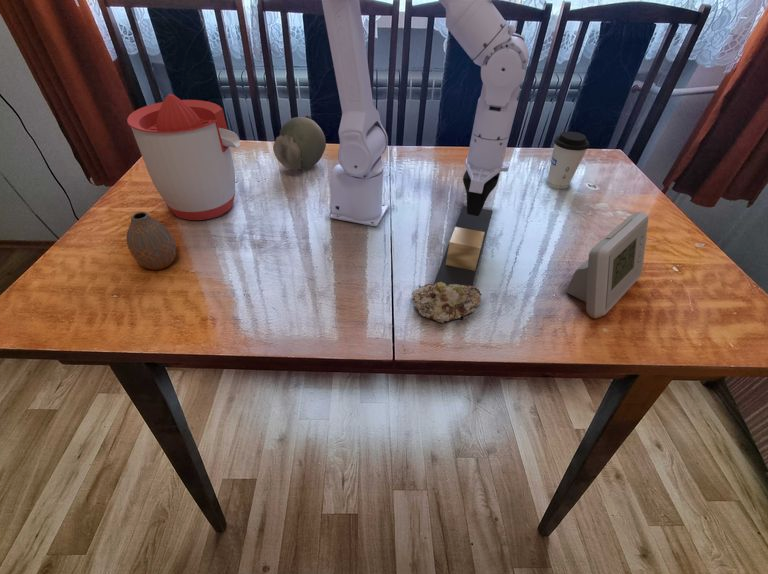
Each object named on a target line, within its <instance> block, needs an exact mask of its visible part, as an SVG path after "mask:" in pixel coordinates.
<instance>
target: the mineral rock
mask: <svg viewBox="0 0 768 574" xmlns="http://www.w3.org/2000/svg"><path fill="white" fill-rule="evenodd" d="M411 296H412V304H413V306H414V307H416V309H417V311H418V314H419V315H421V316H422V317H425V318H426V319H431V320H434V321H436V322H437V323H445V322H449V321H451V320H459V319H458V318H460V317H462V316H464V317H465V316H467V315H468V314H472V313H474V312H475V311H476V308H477V307H478V306H480V304H481V301H482V293H481V292H480V289H479V288H478V287H476V286H473V285H472V286H471V285H470V286H464V285H458V284H451V285H449V286H446V284H445V283H443V282H438V283H436V284H435V285H433V284H432V283H427V284H425V285H422V286H420V287H419V288H418V289H415V290H413V291H412V292H411Z"/></svg>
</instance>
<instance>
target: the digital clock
mask: <svg viewBox="0 0 768 574" xmlns="http://www.w3.org/2000/svg"><path fill="white" fill-rule="evenodd" d="M648 226H649V216H648V215H647V213H645V212H644V211H637V212H634V213H633V214H630V215H629V216H628V217H627V218H625V219H624V220H623V221H622V222H620V223H619V224H618V225H617V226H616V227H615V228H614V229H612V230H611V231H610V232H609V233H608V234H606V235H605V237H603V238H602V239H601V240H600V241H599V242H598V243H597V244H596V245H595V246H593V248H591V249H590V250H589V253H588V259H587V260H586V261H585V262H584V263H583V264H581V266H579V267H578V268H577V269H576V270H575V271H574V273H573V275H572V277H571V279H570V281H569V283H568V286H567V288H566V294H569V295H570V296H573V297H574V298H577V299H579V300H580V301H583V302H584V303H585V305H586V306H585V307H586V308H585V309H586V313H587V315H588V316H589V317H590V318H592V319H599V318H601V317H603V316H605V315H606V314H607V313H608V312H610V310H611V309H612V308H613V307H614V306H615V305H616V304H617V303H618V301H620V299H622V297H624V295H625V294H626V293H627V292H628V291H629V290H630V288H632V287H633V285H634V284H635V283H636V282H637V281H638V280H639V279H640V278H641V277H642V273H643V270H644V261H645V252H646V243H647V236H648V228H649V227H648Z"/></svg>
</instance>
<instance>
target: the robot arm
mask: <svg viewBox="0 0 768 574" xmlns="http://www.w3.org/2000/svg"><path fill="white" fill-rule="evenodd" d="M492 1H493V0H438V2H439V3H440V4H441V5H442V6H443V7H444V9H445V27H446V28H447V30H448V32H449V33H450V34H451V35H452V36H453V38H454V39H455V40H456V42H457V43H458V44H459V45H460V47H461V48H462V50H464V52H465V53H466V54H467V56H468V57H469V58H470V60H471V61H472V62H473V64H475V65H477V66H479V67H480V78H481V81H482V85H481V91H480V96H479V98H478V100H477V104H476V110H475V114H474V115H475V116H474V121H473V126H472V131H471V137H470V142H469V147H468V153H467V157H466V159H465V163H464V166H465V168H466V170H465V172H464V174H463V176H462V183H463V185H464V189H465V194H466V206H467V214H469V215H474V216H479V214H480V213H481V211H482V209H484V205H485V204H486V201H487V199H488V197H489V196H490V194H491V192H493V190H494V189H495V188H496V186H497V185H498V182H499V178H500V174H501V172H505V173H507V172H508V171H509V168H510V163H509V162H507V161H504V159H505V155H506V151H507V147H508V143H509V139H510V135H511V132H512V127H513V123H514V119H515V115H516V111H517V107H518V98H519V95H520V92H521V84H522V82H523V81H524V79H525V77H526V74H527V72H526V70H527V67H528V63H529V59H530V54H529V48H528V45H527V43H526V40H525V37H524V36H523V35H521V34H518V33H516V31H517V28H516V26H515V24H514V23H511V24H509V23H507V21H506V20H505V19H504V17H503V15H502V14H501V12H500V11H499V10H498V8H496V6H495V5H494V3H493V2H492ZM321 4H322V10H323V16H324V21H325V26H326V32H327V37H328V43H329V49H330V53H331V58H332V64H333V70H334V76H335V82H336V86H337V92H338V96H339V102H340V108H341V120H340V123H339V128H338V138H339V147H338V149H337V150H338V151H337V159H338V163H337V164H335V166H334V167H333V168H332V171H331V174H330V182H329V183H330V184H329V187H330V188H329V189H330V203H331V205H330V206H331V214H330V218H331V219H333V220H339V221H345V222H348V223H349V222H350V223H354V224H360V225H365V226H370V227H377V226H378V225H379V224H380V222H381V221H382V218H383V217H384V216H385V214H386V212H387V211H388V209H389V205H388V204H385V203H383V187H384V163H383V159H382V155H383V154H384V153H385V152H386V151H387V149H388V144H389V137H388V134H387V131H386V129H385V128H384V126H383V124H382V121H381V116H380V112H379V111H378V109H377V108H376V107H375V105H374V99H373V93H372V92H373V91H372V86H371V78H370V77H371V76H370V70H369V69H370V68H369V63H368V54H367V48H366V40H365V33H364V25H363V18H362V12H361V11H362V10H361V4H360V0H321Z"/></svg>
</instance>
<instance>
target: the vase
mask: <svg viewBox="0 0 768 574" xmlns="http://www.w3.org/2000/svg"><path fill="white" fill-rule="evenodd" d="M126 245H127V248H128V251H129V253H130V254H131V256H132V258H133V259H134V260H135V262H136V263H137V264H139V265H140V266H142V267H144V268H146V269H149V270H153V271H156V270H162V269H163V270H164V269H165V268H168V267H169V266H170V265H171V264H172V263H173V262H174V260H175V258H176V256H177V245H176V241H175V239H174V236H173V234H172V232H171V231H170V230H169V228H167V226H166V225H165V224H163V223H162V222H160V221H159V220H157V219H155V218H154V217H152V216H151V215H150V214H149V213H148V212H146V211H137V212H134V213H133V214H132V215H131V216H130V223H129V226H128V228H127V230H126Z"/></svg>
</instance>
